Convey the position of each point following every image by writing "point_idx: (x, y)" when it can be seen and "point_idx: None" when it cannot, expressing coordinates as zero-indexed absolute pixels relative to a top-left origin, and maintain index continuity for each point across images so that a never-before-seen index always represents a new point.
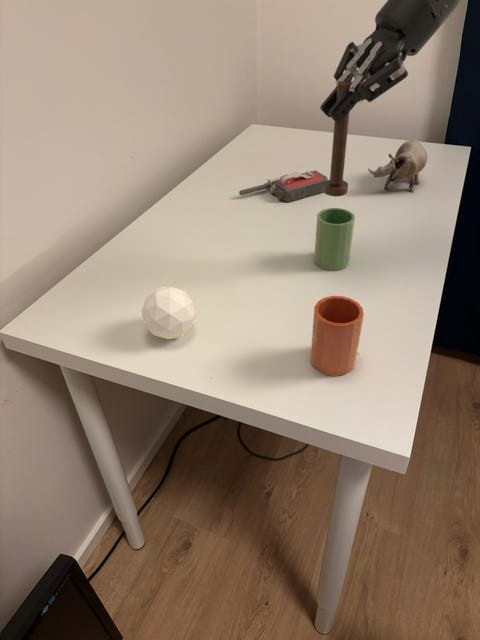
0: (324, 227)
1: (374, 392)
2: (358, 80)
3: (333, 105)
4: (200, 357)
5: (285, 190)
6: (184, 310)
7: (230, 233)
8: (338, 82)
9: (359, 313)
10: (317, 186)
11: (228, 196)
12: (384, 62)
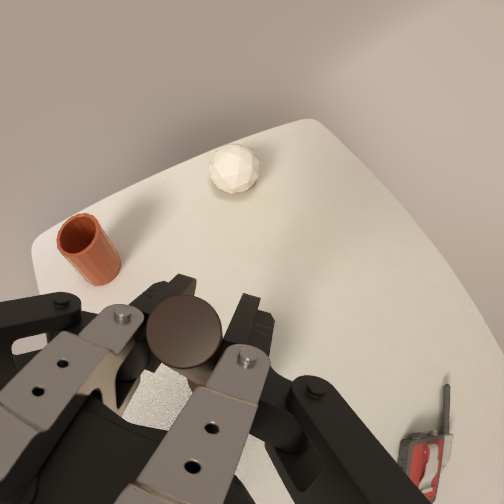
0: None
1: (60, 265)
2: (95, 331)
3: (187, 286)
4: (188, 186)
5: (413, 440)
6: (212, 164)
7: (371, 328)
8: (212, 312)
9: (60, 246)
10: None
11: (452, 374)
12: None
